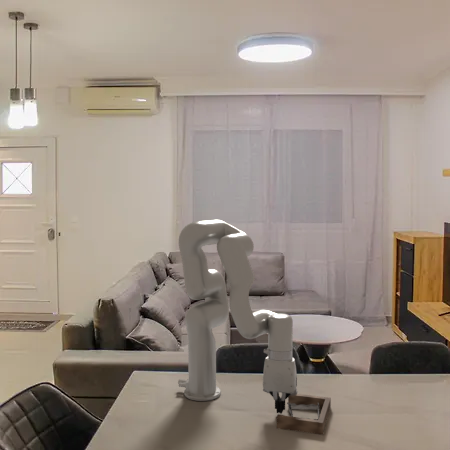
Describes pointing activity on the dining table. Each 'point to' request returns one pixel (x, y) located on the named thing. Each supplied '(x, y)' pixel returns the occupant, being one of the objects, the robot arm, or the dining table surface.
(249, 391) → the dining table surface
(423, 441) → the dining table surface
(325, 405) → the frame
